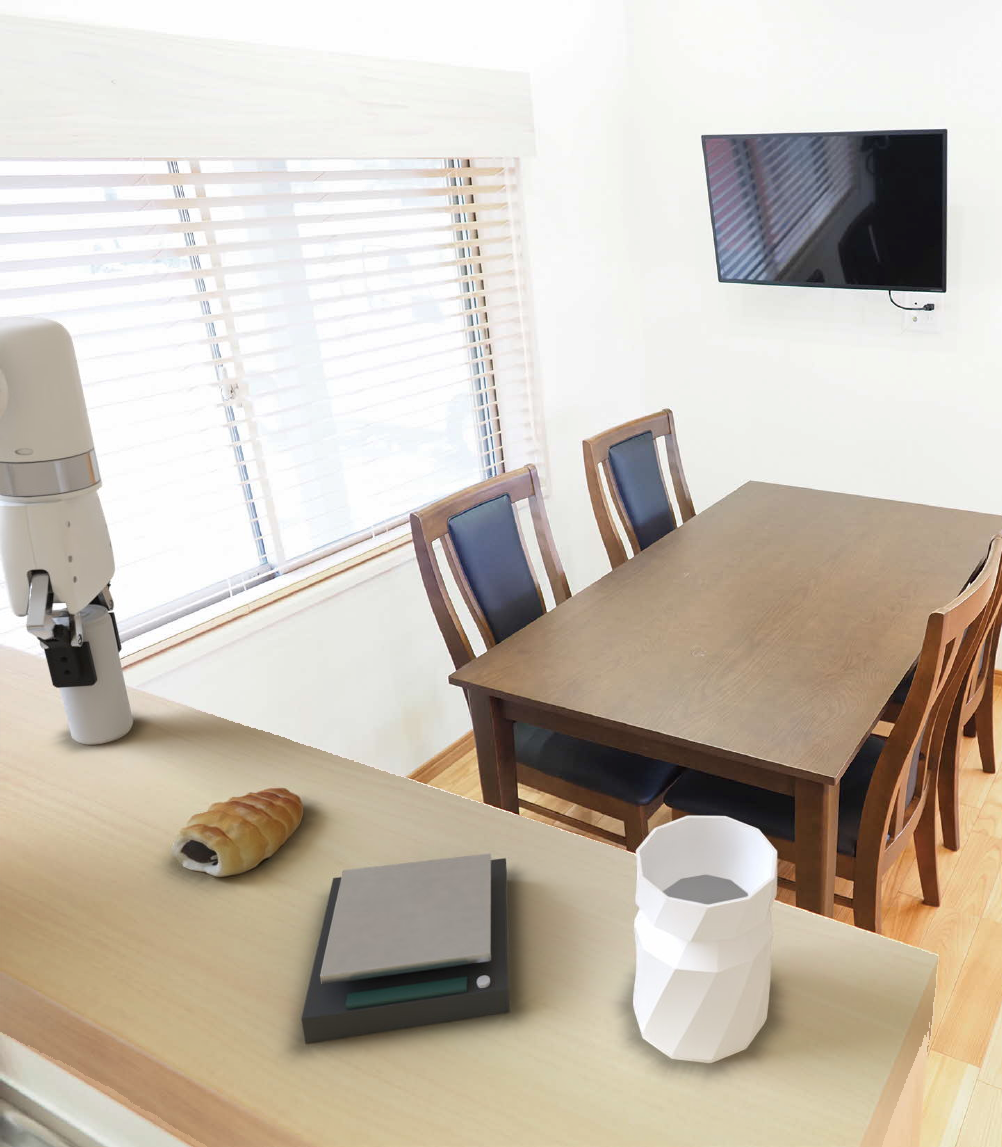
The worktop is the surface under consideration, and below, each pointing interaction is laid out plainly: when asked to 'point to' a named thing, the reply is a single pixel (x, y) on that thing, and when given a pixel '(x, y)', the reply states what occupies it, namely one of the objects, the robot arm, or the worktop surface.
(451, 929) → the scale pan
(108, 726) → the beverage can
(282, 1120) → the worktop surface
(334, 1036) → the scale
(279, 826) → the pastry
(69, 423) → the robot arm
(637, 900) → the vase
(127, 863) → the worktop surface
